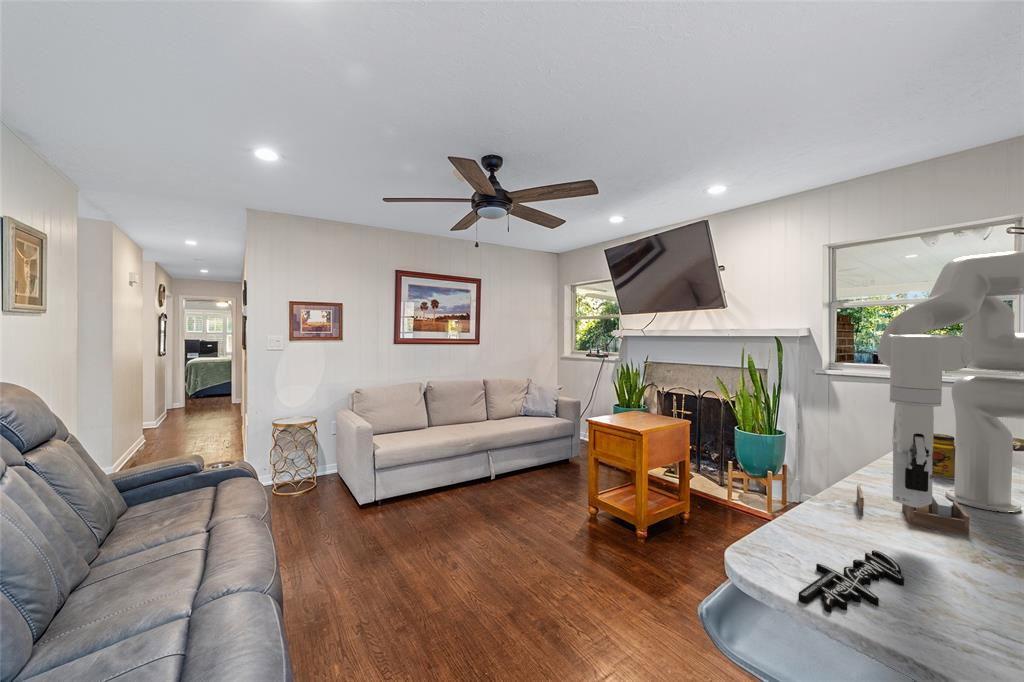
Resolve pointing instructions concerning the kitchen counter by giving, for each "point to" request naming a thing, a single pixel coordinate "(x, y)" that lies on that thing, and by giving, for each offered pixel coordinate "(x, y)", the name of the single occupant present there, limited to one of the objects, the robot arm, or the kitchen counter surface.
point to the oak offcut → (922, 509)
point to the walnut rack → (931, 517)
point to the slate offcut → (940, 507)
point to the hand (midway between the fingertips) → (912, 483)
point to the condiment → (943, 456)
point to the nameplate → (852, 581)
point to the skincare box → (899, 489)
